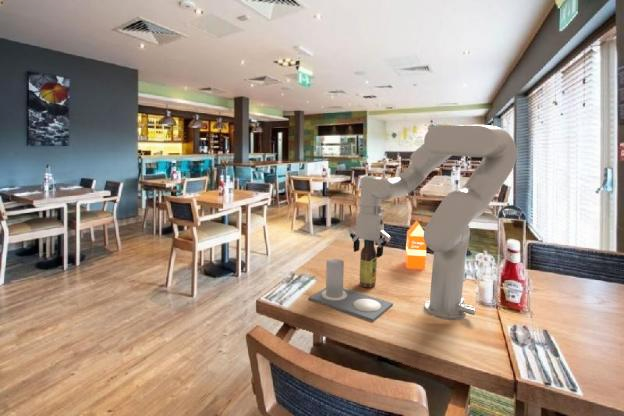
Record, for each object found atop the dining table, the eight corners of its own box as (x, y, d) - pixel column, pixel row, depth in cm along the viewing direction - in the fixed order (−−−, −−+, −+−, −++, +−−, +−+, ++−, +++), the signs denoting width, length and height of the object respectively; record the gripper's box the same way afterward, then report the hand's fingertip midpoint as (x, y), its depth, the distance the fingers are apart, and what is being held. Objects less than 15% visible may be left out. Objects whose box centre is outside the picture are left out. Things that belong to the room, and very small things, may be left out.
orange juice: (406, 268, 154) (409, 223, 150) (404, 261, 163) (407, 219, 159) (425, 269, 153) (428, 224, 149) (422, 262, 161) (425, 220, 158)
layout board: (392, 305, 119) (394, 268, 116) (373, 321, 108) (375, 281, 105) (331, 286, 133) (332, 253, 131) (308, 299, 122) (309, 263, 120)
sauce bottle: (375, 289, 132) (377, 237, 128) (358, 287, 133) (360, 236, 129) (375, 282, 138) (378, 233, 134) (359, 281, 139) (361, 232, 135)
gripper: (396, 211, 128) (393, 256, 131) (355, 205, 138) (353, 246, 141) (387, 214, 122) (384, 261, 125) (345, 207, 132) (342, 251, 136)
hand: (367, 253), depth 133 cm, fingers open, 9 cm apart
